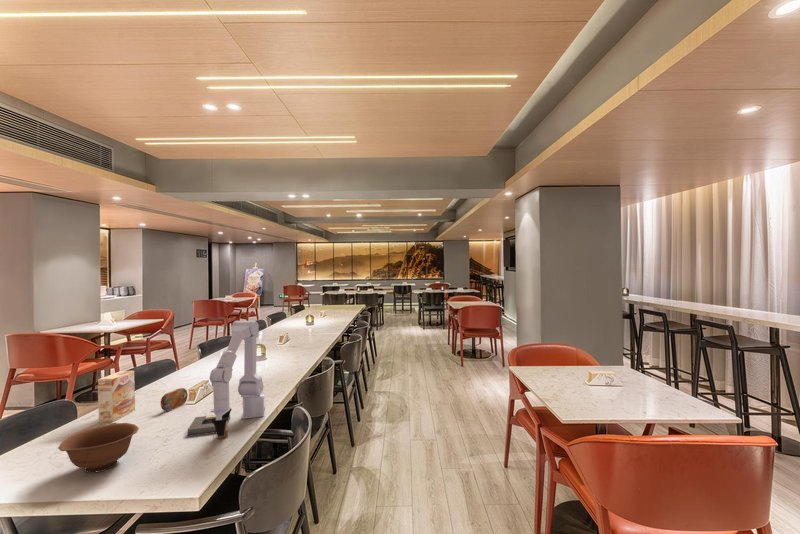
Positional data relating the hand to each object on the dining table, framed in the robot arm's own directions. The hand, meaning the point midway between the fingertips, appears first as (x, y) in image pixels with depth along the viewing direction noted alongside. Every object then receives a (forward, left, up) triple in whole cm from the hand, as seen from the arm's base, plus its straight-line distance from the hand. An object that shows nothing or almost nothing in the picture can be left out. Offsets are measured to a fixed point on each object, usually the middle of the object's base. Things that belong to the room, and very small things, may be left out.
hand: (222, 431), depth 155 cm
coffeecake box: (+52, -43, -2) cm, 68 cm away
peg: (0, 0, -2) cm, 2 cm away
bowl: (+37, +11, -2) cm, 39 cm away
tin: (+29, -46, -2) cm, 55 cm away
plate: (+7, -13, -2) cm, 15 cm away
